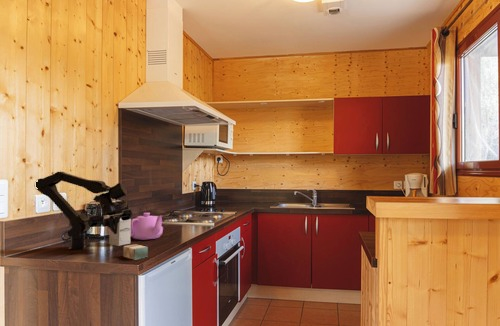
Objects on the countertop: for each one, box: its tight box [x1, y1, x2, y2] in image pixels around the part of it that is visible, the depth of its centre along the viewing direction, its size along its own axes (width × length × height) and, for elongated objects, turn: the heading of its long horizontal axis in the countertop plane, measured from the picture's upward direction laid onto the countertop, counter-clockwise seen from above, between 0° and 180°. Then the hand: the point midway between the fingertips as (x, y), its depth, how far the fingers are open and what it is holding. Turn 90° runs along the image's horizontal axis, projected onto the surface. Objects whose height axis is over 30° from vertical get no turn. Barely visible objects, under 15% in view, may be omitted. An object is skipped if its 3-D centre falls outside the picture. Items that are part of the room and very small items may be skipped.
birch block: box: [122, 243, 149, 261], centre depth 155 cm, size 4×6×9 cm
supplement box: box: [108, 218, 132, 247], centre depth 181 cm, size 7×7×13 cm
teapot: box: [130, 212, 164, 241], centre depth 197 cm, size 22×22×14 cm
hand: (115, 233), depth 163 cm, fingers closed
